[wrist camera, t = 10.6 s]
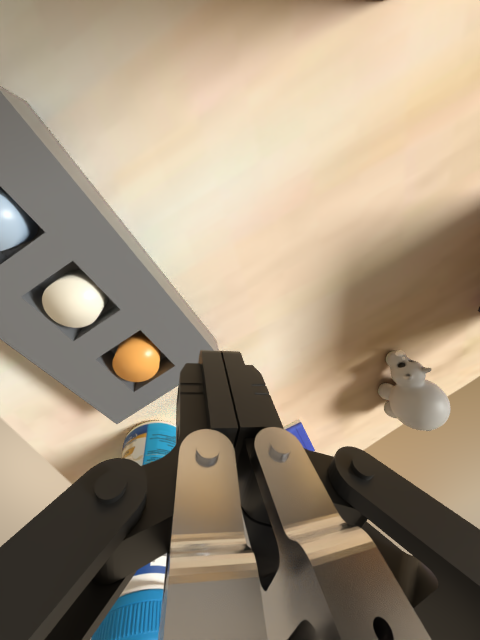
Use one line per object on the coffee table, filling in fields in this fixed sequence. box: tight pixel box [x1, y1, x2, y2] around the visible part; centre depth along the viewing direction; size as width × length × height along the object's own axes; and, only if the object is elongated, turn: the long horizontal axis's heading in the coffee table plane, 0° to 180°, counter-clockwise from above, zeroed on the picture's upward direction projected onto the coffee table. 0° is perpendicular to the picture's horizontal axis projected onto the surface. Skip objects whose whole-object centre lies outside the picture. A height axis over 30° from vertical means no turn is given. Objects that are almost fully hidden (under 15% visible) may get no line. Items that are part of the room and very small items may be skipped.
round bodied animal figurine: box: [378, 351, 450, 431], centre depth 38 cm, size 7×12×8 cm, turn 18°
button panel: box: [0, 86, 219, 424], centre depth 24 cm, size 26×14×4 cm, turn 32°
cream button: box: [42, 270, 109, 328], centre depth 24 cm, size 4×4×3 cm
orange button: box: [113, 330, 161, 382], centre depth 28 cm, size 4×4×3 cm
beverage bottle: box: [91, 421, 176, 640], centre depth 28 cm, size 8×8×20 cm
